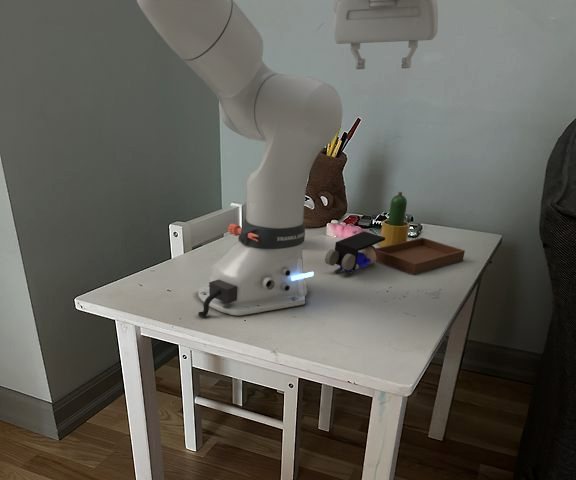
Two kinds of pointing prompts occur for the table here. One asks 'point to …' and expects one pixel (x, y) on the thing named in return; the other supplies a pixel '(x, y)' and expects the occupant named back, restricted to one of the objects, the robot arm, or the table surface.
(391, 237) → the cup
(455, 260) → the tray
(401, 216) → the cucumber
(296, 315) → the table surface
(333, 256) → the figurine character
